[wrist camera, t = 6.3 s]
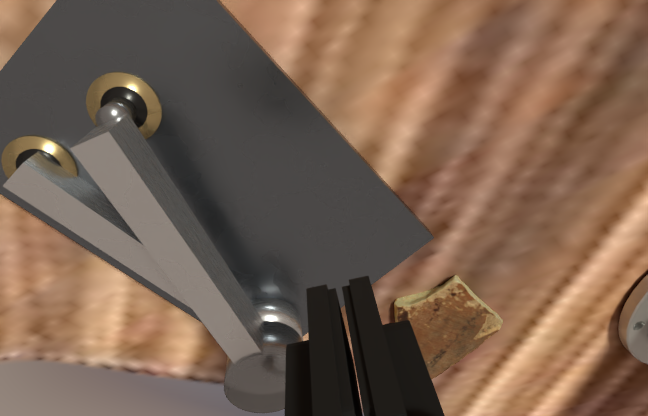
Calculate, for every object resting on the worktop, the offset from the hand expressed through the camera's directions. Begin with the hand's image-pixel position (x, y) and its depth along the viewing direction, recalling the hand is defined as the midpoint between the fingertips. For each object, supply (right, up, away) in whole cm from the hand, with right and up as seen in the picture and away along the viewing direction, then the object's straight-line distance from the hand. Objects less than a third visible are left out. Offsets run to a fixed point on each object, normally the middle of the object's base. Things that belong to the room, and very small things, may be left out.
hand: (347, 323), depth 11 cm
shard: (+8, -6, +20) cm, 22 cm away
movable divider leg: (-7, +1, +11) cm, 13 cm away
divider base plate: (-6, +4, +11) cm, 14 cm away
